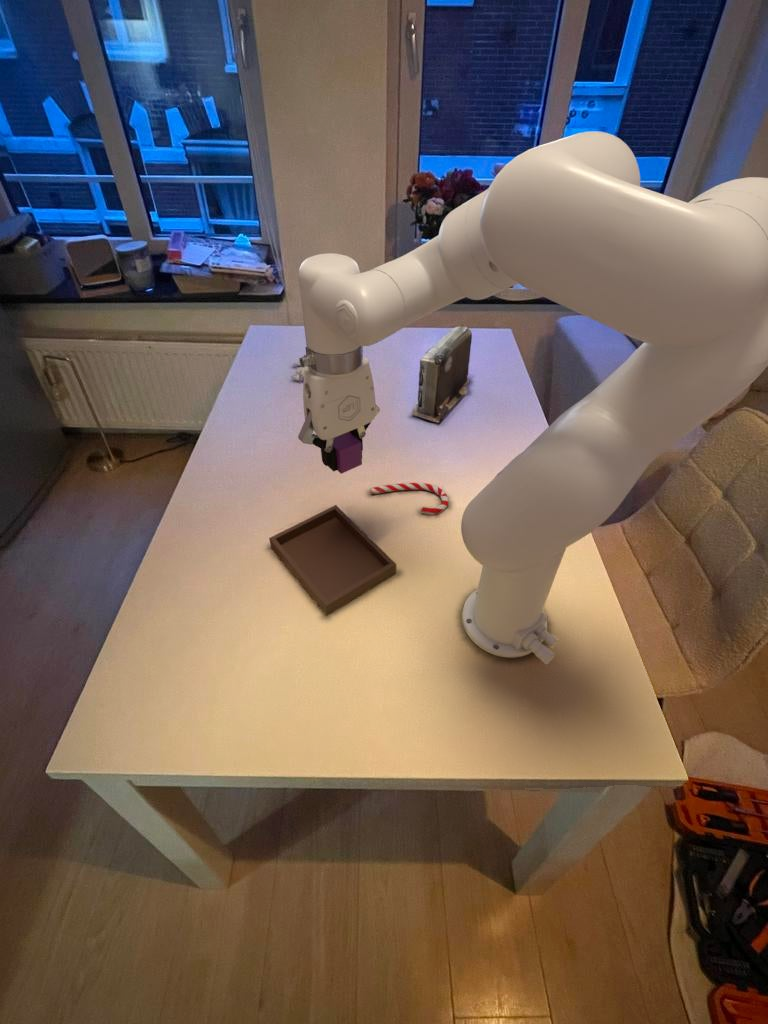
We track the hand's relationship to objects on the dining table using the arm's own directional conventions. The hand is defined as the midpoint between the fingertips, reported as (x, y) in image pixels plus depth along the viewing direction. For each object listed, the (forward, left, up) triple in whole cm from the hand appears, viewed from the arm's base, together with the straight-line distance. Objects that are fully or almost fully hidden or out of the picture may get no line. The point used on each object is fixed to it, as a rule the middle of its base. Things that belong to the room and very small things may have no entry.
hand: (343, 460), depth 84 cm
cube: (0, 0, 0) cm, 0 cm away
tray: (-5, +7, -15) cm, 17 cm away
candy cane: (-1, -13, -15) cm, 20 cm away
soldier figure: (+52, -23, -15) cm, 59 cm away
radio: (+22, -42, -15) cm, 50 cm away
